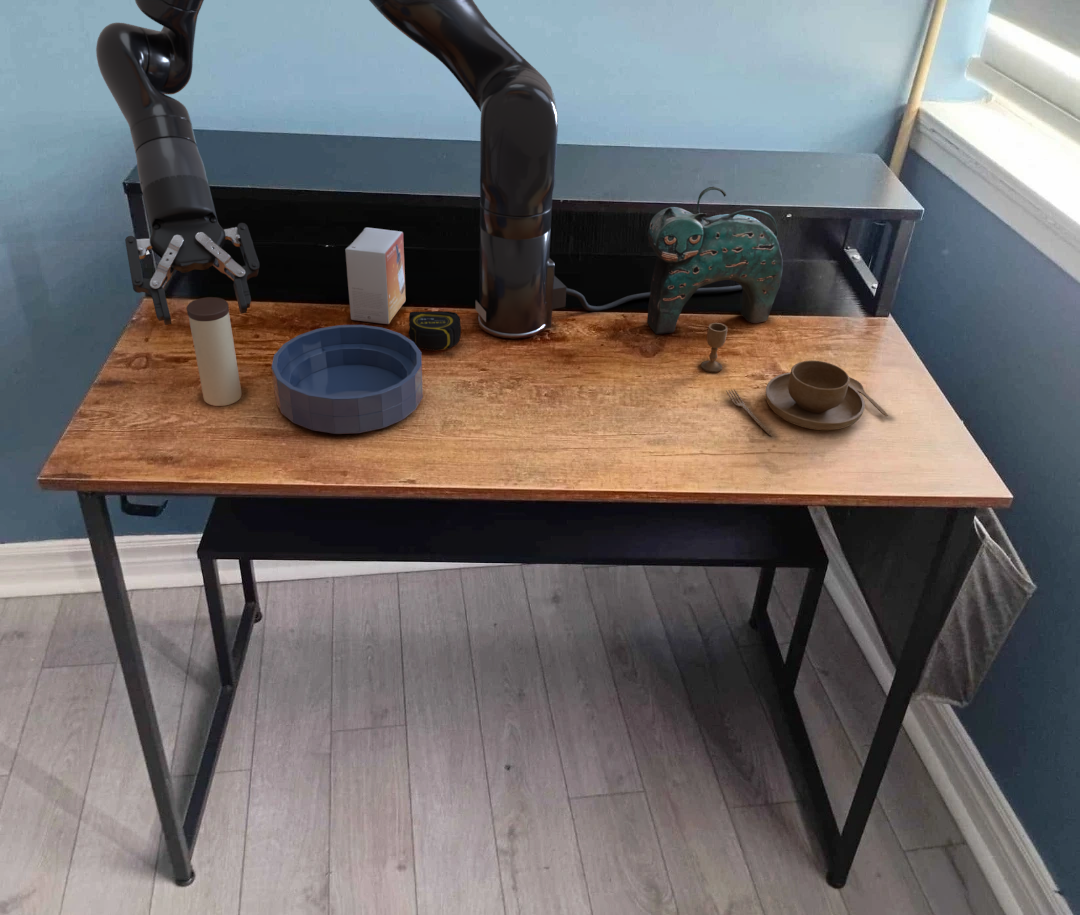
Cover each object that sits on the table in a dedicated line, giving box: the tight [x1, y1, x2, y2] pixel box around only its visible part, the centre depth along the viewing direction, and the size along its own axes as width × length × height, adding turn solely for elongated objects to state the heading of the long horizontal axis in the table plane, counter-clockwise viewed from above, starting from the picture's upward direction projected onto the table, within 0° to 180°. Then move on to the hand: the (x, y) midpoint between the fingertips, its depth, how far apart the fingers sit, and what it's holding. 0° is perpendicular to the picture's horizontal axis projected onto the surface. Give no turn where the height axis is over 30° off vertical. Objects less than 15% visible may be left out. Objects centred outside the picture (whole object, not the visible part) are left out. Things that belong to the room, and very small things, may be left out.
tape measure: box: [408, 310, 462, 351], centre depth 129 cm, size 7×7×4 cm
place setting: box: [700, 322, 889, 437], centre depth 122 cm, size 18×20×6 cm
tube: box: [186, 296, 243, 407], centre depth 114 cm, size 4×4×12 cm
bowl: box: [271, 324, 424, 435], centre depth 116 cm, size 17×17×6 cm
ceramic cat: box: [646, 186, 784, 335], centre depth 132 cm, size 20×6×20 cm, turn 106°
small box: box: [344, 227, 407, 325], centre depth 134 cm, size 8×6×10 cm
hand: (206, 317), depth 114 cm, fingers open, 8 cm apart
